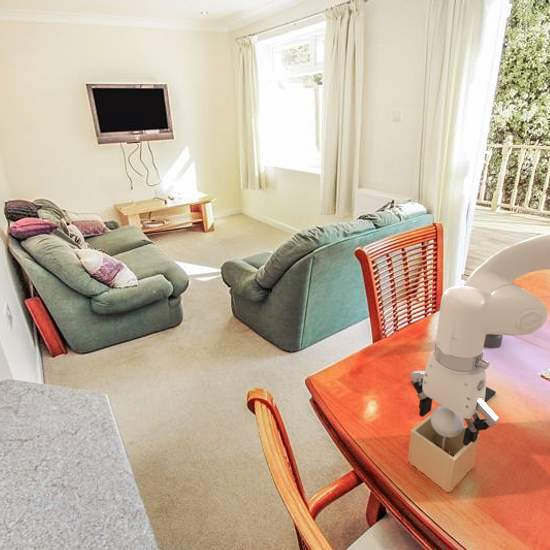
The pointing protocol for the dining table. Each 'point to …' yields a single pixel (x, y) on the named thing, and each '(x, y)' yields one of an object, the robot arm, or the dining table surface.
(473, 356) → the robot arm
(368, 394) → the dining table surface
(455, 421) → the lollipop
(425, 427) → the box
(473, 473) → the dining table surface
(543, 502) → the dining table surface
